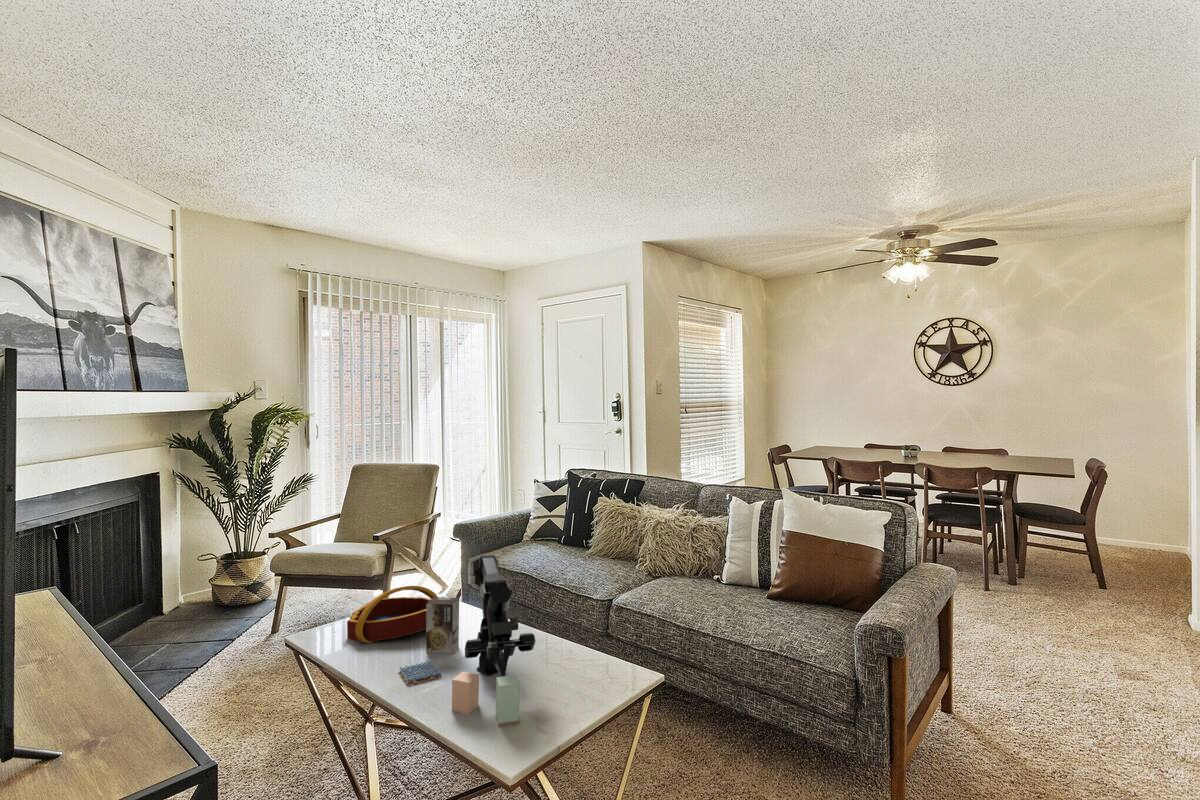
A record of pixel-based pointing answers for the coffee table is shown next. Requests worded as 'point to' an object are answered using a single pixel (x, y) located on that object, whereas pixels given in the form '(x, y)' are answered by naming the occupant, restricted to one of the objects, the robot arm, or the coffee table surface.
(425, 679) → the woven mat
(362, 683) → the coffee table surface
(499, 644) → the robot arm
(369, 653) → the coffee table surface
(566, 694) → the coffee table surface
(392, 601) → the decorative basket
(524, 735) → the coffee table surface
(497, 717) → the sage block
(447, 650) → the coffee box
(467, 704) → the terracotta block
